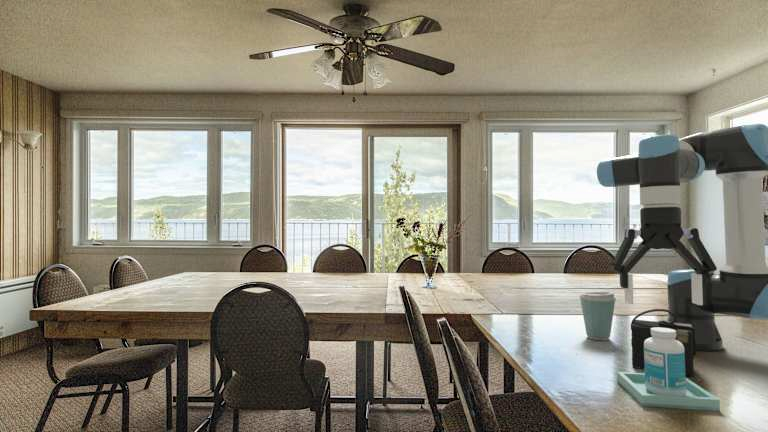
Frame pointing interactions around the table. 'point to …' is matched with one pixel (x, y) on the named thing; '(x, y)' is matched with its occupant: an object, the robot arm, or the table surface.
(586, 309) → the disposable coffee cup
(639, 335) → the camera
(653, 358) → the pill bottle
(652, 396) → the tray
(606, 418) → the table surface
